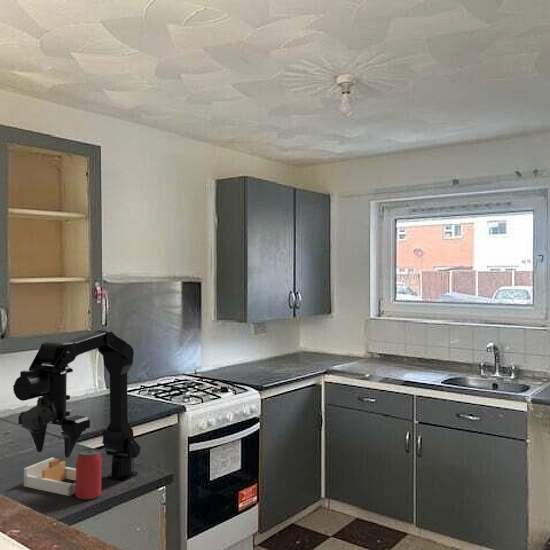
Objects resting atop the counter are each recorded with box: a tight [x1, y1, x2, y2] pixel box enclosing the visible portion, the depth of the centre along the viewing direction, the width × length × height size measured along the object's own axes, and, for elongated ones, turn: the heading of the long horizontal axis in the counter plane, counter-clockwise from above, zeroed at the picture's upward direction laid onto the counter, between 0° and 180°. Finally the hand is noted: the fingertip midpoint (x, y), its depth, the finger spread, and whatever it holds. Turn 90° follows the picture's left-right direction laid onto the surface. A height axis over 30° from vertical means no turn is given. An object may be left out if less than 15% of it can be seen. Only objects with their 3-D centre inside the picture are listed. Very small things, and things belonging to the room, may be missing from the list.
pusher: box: [42, 458, 66, 482], centre depth 161 cm, size 8×1×6 cm, turn 158°
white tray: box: [23, 457, 76, 497], centre depth 160 cm, size 10×16×5 cm, turn 68°
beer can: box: [75, 447, 103, 501], centre depth 153 cm, size 7×7×12 cm
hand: (53, 454), depth 142 cm, fingers open, 9 cm apart
